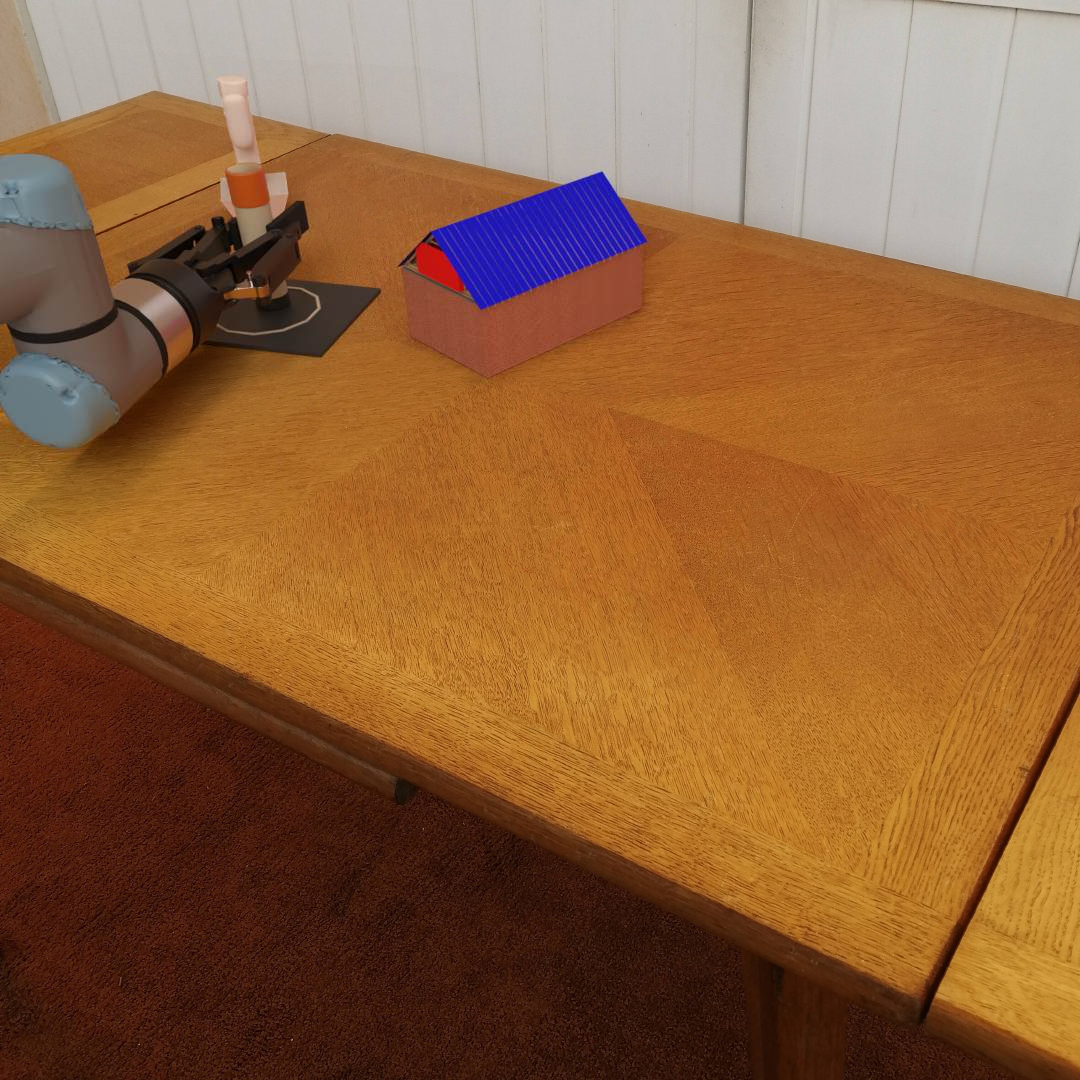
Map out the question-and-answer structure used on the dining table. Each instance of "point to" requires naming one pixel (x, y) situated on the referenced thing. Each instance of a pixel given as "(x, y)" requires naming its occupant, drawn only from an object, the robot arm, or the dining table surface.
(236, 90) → the figurine
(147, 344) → the robot arm
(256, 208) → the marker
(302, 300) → the slate board
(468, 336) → the house
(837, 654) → the dining table surface
